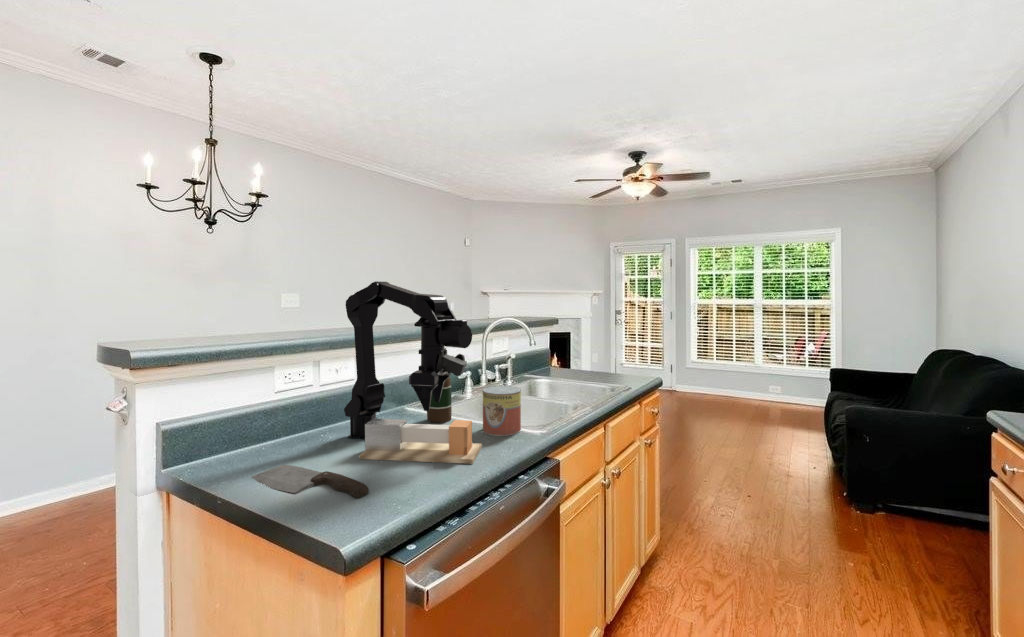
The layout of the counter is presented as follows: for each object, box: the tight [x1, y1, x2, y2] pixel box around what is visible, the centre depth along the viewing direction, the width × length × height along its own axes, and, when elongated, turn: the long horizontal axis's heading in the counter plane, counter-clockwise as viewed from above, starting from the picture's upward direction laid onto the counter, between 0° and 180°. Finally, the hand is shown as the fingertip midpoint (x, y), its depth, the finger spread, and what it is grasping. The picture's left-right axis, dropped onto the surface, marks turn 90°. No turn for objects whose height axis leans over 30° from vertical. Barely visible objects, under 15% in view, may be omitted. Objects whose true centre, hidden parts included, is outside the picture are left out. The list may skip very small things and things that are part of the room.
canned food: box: [482, 385, 522, 437], centre depth 140 cm, size 11×11×12 cm
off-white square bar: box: [400, 423, 451, 444], centre depth 121 cm, size 19×4×4 cm, turn 83°
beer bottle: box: [426, 346, 453, 424], centre depth 151 cm, size 8×8×24 cm
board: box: [359, 442, 483, 465], centre depth 121 cm, size 28×12×1 cm, turn 83°
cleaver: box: [251, 464, 370, 499], centre depth 101 cm, size 30×10×2 cm, turn 62°
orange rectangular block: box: [449, 419, 473, 455], centre depth 120 cm, size 4×6×7 cm
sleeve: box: [364, 418, 408, 452], centre depth 122 cm, size 9×5×7 cm, turn 83°
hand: (432, 406), depth 122 cm, fingers open, 9 cm apart
